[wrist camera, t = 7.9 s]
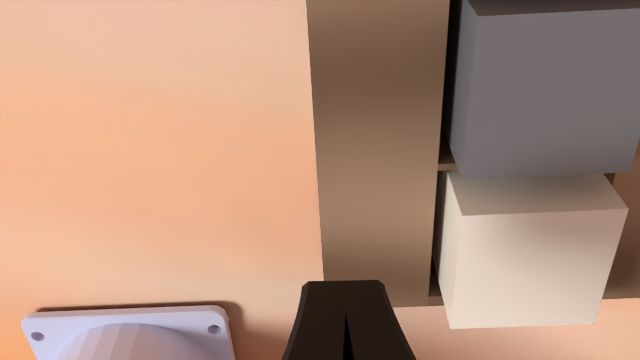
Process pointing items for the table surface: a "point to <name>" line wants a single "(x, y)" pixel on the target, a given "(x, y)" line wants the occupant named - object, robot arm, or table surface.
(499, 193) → the ivory key
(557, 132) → the charcoal key
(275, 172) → the table surface
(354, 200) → the key box
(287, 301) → the table surface
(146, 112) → the table surface
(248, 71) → the table surface
